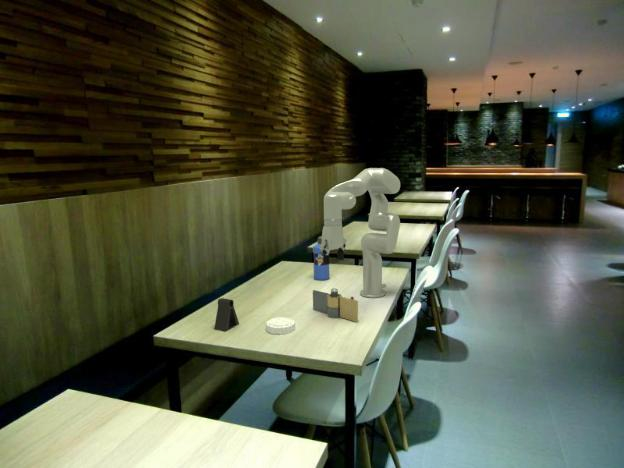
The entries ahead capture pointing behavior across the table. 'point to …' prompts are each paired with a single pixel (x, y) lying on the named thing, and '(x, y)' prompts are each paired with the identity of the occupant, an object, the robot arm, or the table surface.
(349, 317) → the hinge leaf
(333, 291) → the hinge pin
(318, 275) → the water bottle
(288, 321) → the mooncake
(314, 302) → the hinge base
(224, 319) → the phone stand
